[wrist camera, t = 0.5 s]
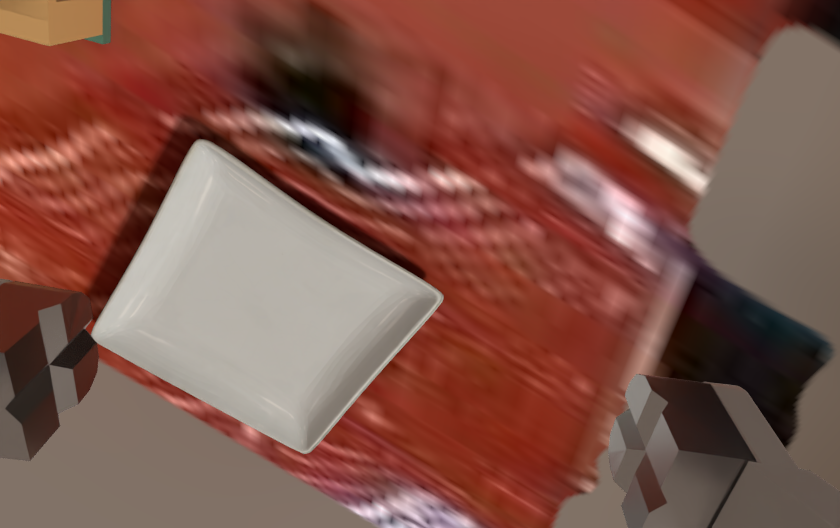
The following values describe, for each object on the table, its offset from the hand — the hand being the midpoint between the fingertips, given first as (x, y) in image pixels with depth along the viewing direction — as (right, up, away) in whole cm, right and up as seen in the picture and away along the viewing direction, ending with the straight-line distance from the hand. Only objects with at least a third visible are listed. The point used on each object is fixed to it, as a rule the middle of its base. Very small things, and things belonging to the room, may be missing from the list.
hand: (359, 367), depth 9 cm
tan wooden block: (-27, +24, +39) cm, 53 cm away
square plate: (-15, -2, +54) cm, 56 cm away
